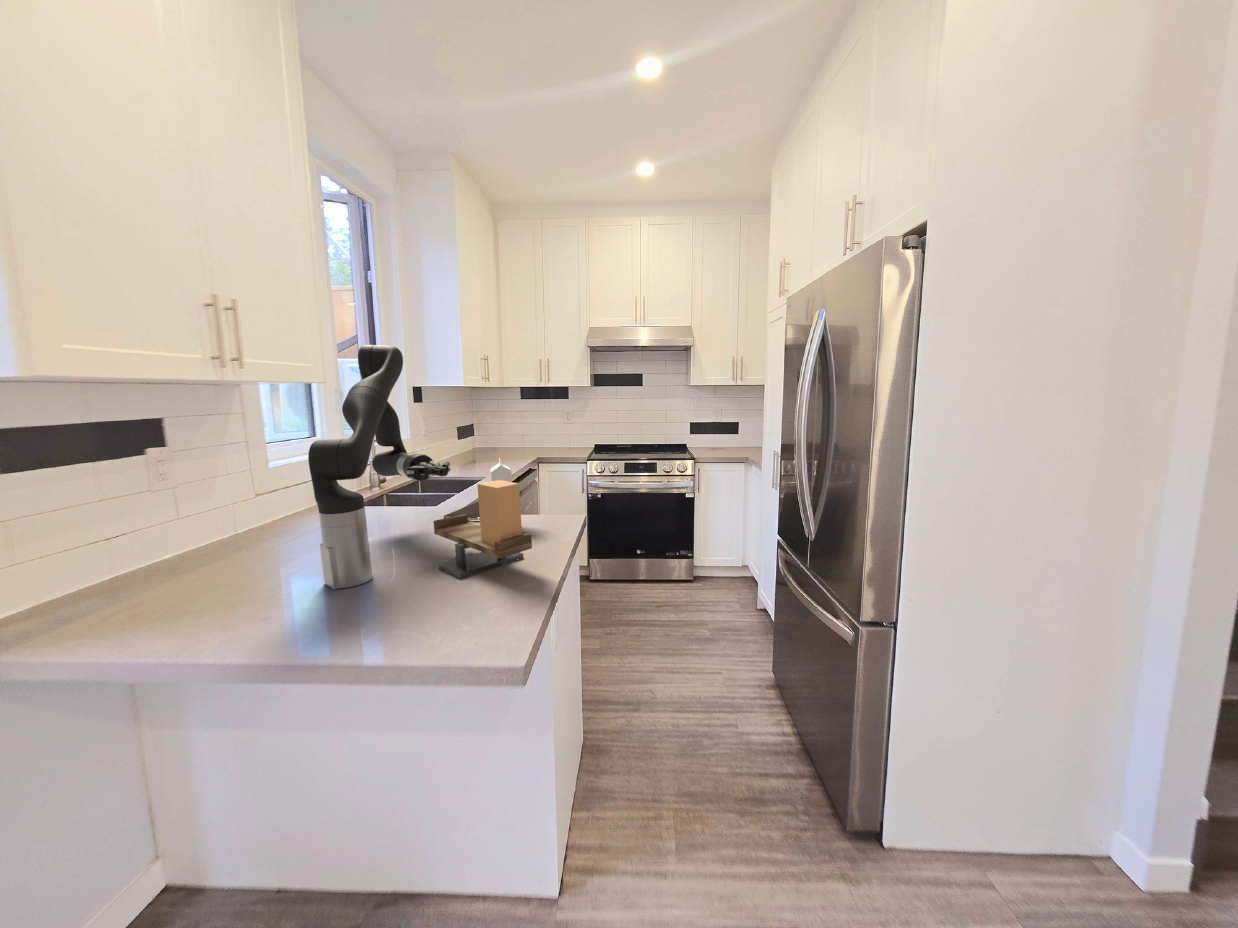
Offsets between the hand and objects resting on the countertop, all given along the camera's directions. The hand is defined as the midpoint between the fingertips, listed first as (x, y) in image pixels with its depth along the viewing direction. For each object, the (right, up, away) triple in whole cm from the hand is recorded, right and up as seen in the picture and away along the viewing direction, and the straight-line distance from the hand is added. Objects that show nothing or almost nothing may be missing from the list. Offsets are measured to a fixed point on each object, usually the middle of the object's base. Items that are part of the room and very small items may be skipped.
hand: (444, 472), depth 132 cm
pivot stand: (+12, -23, -7) cm, 27 cm away
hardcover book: (-2, -16, +45) cm, 48 cm away
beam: (+12, -17, -8) cm, 22 cm away
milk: (+10, -18, +24) cm, 32 cm away
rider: (+18, -16, -14) cm, 28 cm away
